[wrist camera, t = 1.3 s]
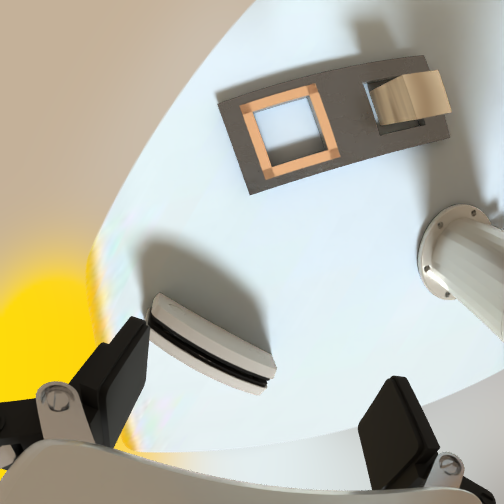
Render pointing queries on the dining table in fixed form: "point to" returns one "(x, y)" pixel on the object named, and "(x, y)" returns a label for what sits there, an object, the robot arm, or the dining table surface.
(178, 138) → the dining table surface
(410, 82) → the plug
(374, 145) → the grey flat holed plate
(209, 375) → the grey slotted arched block
